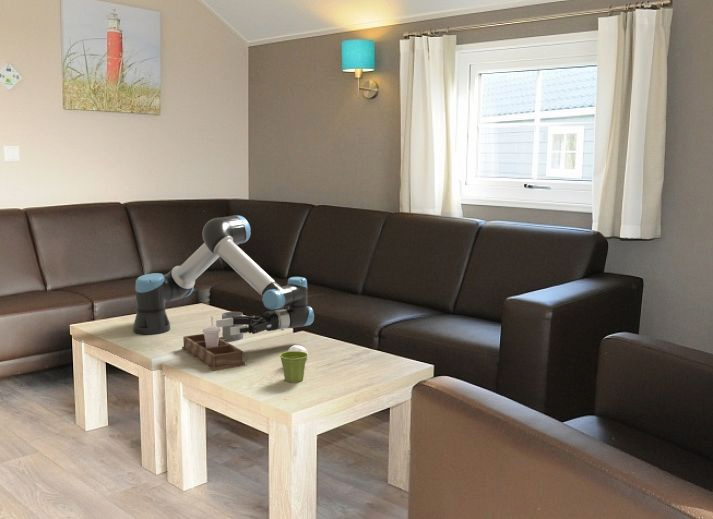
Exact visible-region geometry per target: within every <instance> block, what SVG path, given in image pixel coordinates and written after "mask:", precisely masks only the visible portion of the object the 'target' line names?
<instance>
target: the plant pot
mask: <svg viewBox="0 0 713 519" xmlns="http://www.w3.org/2000/svg"><path fill="white" fill-rule="evenodd" d="M307 357H308V358H309V353H308V354H307V353H305V352H300V351H289V352H287V351H284V352H282V353H279V358H280V361H281V364H282V370H283V376H284V381H286V382H289V383H299V382H300V381H301V382H302V381H304V375H305V369H306V363H307V361H306V359H307ZM305 362H306V363H305Z"/></svg>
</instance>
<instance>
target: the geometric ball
mask: <svg viewBox="0 0 713 519" xmlns="http://www.w3.org/2000/svg"><path fill="white" fill-rule="evenodd" d="M289 351H300V352H305V353H307V354H308V355H309V353H308V350H307V349H306V348H305V347H304V346H302V345H298V344H294V345H292V346H290V347H289V348H288V349H287V351H286V352H289ZM308 358H309V356H308V357H307V359H306V362H305V364H306V363H307V361H308Z"/></svg>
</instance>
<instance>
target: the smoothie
mask: <svg viewBox="0 0 713 519" xmlns="http://www.w3.org/2000/svg"><path fill="white" fill-rule="evenodd" d="M210 318H211V320H210V322H211V324H210V326H205V327H203V328H202V332H203V334H204V337H205V344H206V348H210V347H217V346H218V342H219V338H220V332H221V327H216V326H214V317H213V316H210Z"/></svg>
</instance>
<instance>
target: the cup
mask: <svg viewBox="0 0 713 519" xmlns="http://www.w3.org/2000/svg"><path fill="white" fill-rule="evenodd" d="M232 316H244V314H243V312H241V311H227V312H223V313H222V314H221V319H228V318H232ZM238 326H244V325H239V324H234V326H232V325H231V326H224V327H221V328H222V333H221V334H222V339H223V340H224V341H226V342H227V341H229V342H230V341H231V342H232V341H233V342H234V341H240V340H242V339H244V333H243V334H236V335H230V327H238Z"/></svg>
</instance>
